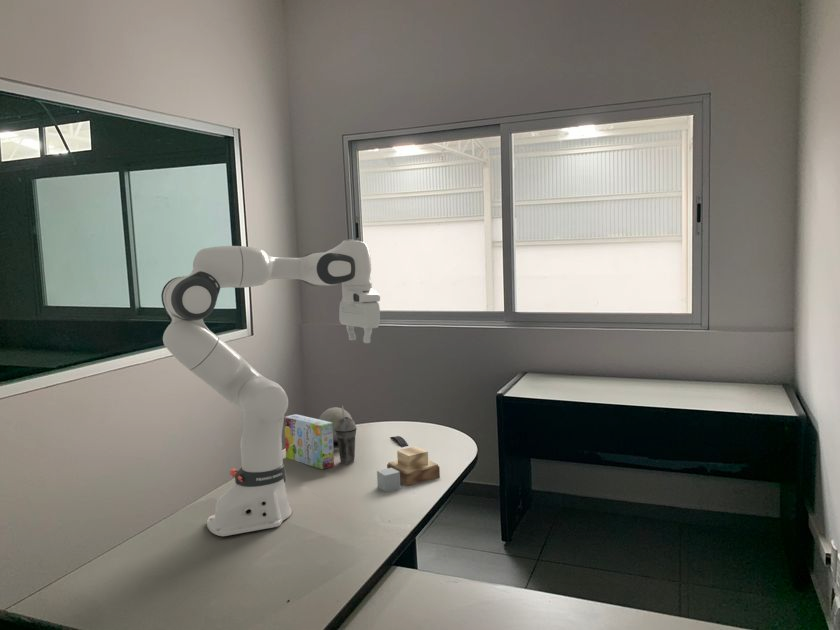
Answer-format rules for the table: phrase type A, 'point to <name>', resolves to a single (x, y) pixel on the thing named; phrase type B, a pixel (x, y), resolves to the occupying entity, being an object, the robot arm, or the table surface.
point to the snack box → (309, 441)
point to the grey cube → (388, 479)
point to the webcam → (334, 421)
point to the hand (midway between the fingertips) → (359, 341)
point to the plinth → (416, 472)
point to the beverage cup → (346, 439)
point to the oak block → (412, 457)
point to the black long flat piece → (401, 441)
